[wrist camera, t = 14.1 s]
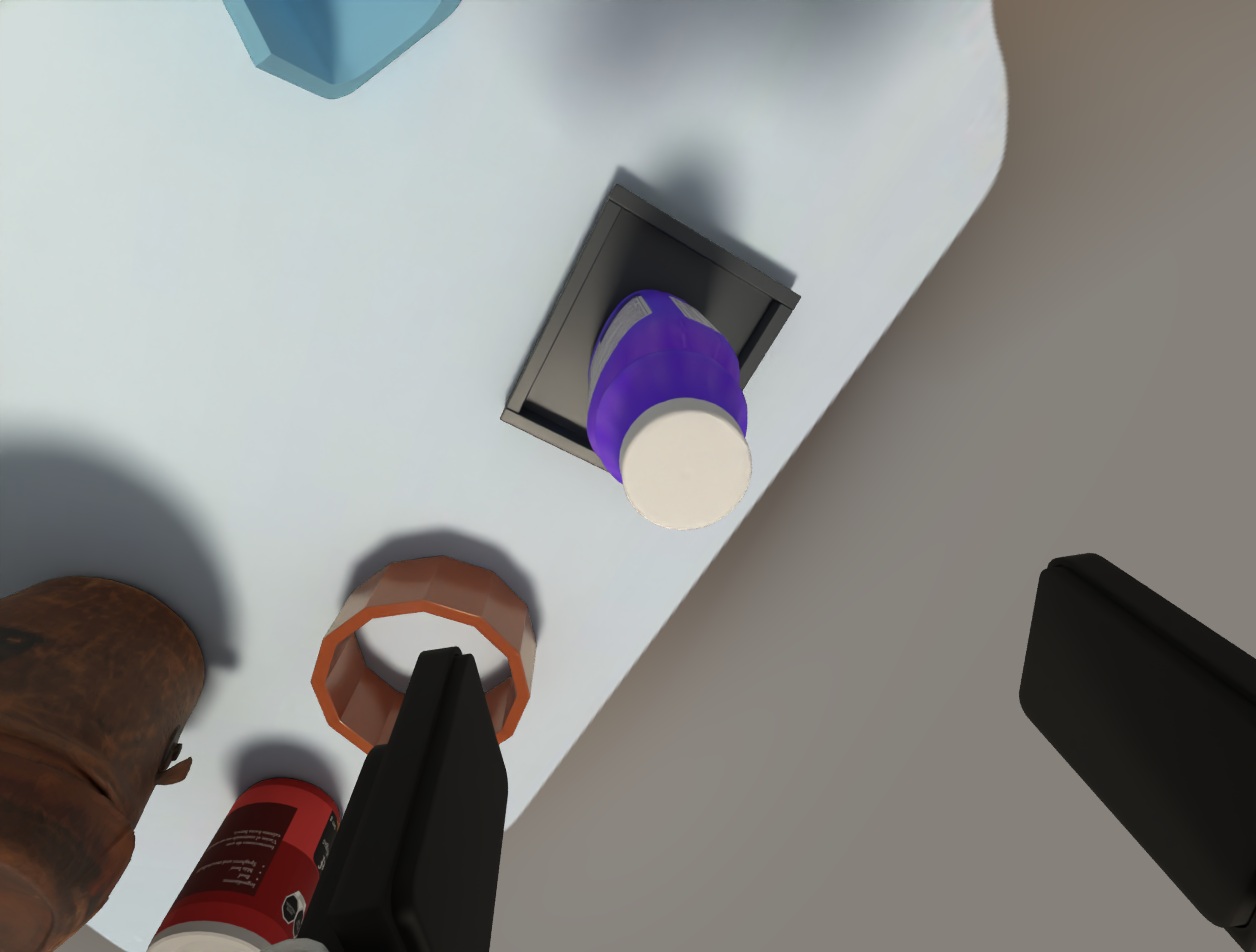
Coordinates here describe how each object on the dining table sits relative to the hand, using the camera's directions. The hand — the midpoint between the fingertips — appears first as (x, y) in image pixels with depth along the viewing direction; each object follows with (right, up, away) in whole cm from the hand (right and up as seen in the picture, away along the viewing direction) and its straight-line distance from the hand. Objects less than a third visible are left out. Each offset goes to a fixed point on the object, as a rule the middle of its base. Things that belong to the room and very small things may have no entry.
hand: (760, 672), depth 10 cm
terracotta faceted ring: (-15, -8, +32) cm, 36 cm away
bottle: (-1, +10, +25) cm, 27 cm away
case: (-37, -9, +31) cm, 49 cm away
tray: (-1, +10, +25) cm, 27 cm away
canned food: (-28, -23, +37) cm, 52 cm away
